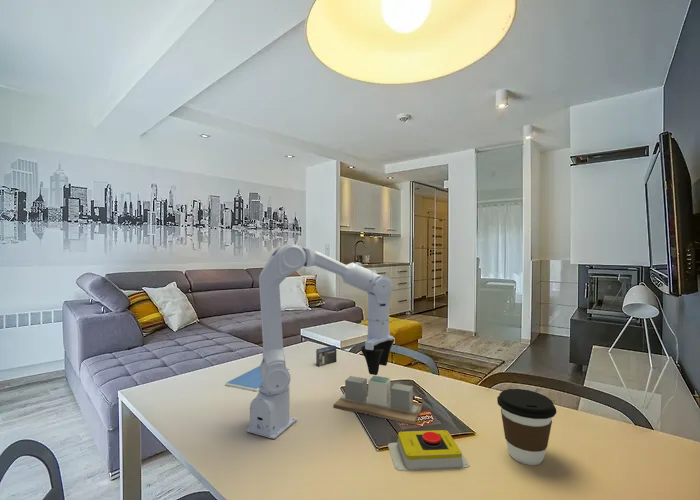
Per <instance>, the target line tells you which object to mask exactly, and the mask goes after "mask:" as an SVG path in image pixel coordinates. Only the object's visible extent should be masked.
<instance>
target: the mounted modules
mask: <svg viewBox="0 0 700 500" xmlns="http://www.w3.org/2000/svg"><path fill="white" fill-rule="evenodd" d="M344 382H345V383H344V385H345V386H344V387H345V388H344V394H345V398H346V399H351V400H356V401H361V402H362V401H363V400H364V399H365V398H366V397H367V394H368V378H366V377H360V376H353V375H349V377H348V378H346V379H345V381H344ZM413 396H414V386H413V385H407V384H402V383H401V384H400V383H393V385H392V386H390V398H391V408H396V409H401V410H406V411H410V409H411V408H412V406H413V402H414V397H413Z"/></svg>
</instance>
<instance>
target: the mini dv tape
mask: <svg viewBox="0 0 700 500" xmlns="http://www.w3.org/2000/svg"><path fill="white" fill-rule="evenodd" d="M315 356H316V357H315V359H316V364H315V365H316V366H317V367H319V368H320V367H324V366H327V365H329V364H330V365H331V364H334V363H337V346H336V345H335V344H334V345H329V346H325V347H322V348H317V349H316V351H315Z"/></svg>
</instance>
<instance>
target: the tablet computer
mask: <svg viewBox="0 0 700 500" xmlns="http://www.w3.org/2000/svg"><path fill="white" fill-rule="evenodd" d="M287 370H288V371H289V373H290V372H291V369H289V368H287ZM262 381H263V379H262V376H261V374H260V365H258V366H256V367H254V368H253V369H251V370H249V371H247V372H245V373H243V374H241V375H239V376H237V377H234V378H233V379H230V380H229V381H227V382H225V386H226V387H230V388H235V389H239V390H240V389H241V390H245V391H250V392H259V386H260V385H261V383H262Z"/></svg>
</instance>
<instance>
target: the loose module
mask: <svg viewBox="0 0 700 500" xmlns="http://www.w3.org/2000/svg"><path fill="white" fill-rule="evenodd" d="M367 394H368V403H371V404H376V405H381V406H387V405H388V404H389V402H390V398H391V378H390V377H385V376H378V375H372V377H370V378H369V380H367Z"/></svg>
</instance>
